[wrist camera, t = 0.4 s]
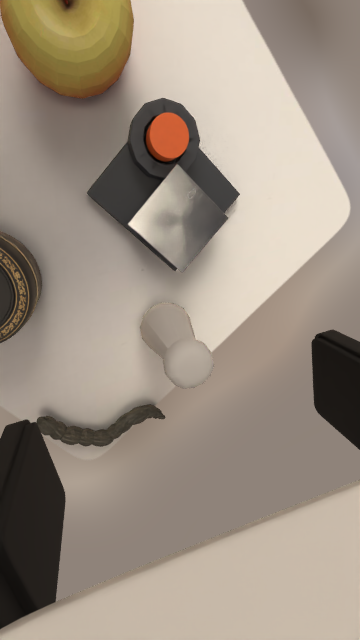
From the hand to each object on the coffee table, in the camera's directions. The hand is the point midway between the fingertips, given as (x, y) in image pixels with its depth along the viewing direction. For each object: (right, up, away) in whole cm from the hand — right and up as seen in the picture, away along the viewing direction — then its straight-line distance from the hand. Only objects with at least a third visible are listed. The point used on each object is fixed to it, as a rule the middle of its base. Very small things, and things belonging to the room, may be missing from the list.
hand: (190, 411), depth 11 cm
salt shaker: (-3, +3, +28) cm, 29 cm away
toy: (-8, -10, +27) cm, 30 cm away
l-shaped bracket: (-2, +16, +24) cm, 29 cm away
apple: (-10, +27, +18) cm, 34 cm away
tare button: (-2, +20, +20) cm, 28 cm away
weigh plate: (0, +13, +22) cm, 26 cm away
